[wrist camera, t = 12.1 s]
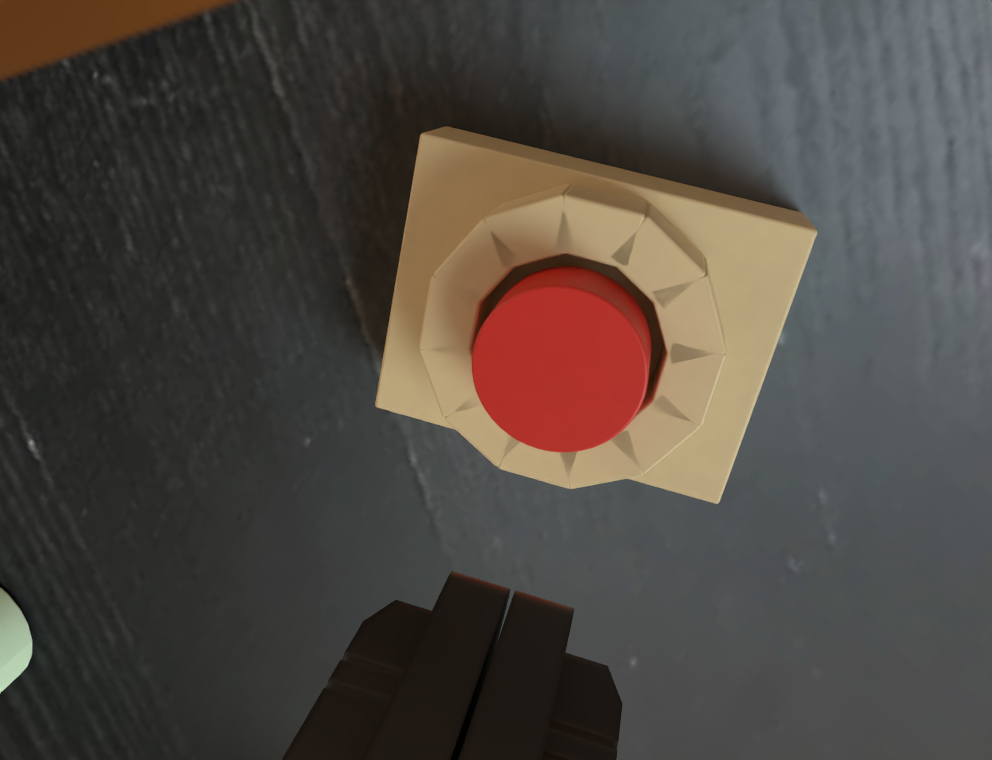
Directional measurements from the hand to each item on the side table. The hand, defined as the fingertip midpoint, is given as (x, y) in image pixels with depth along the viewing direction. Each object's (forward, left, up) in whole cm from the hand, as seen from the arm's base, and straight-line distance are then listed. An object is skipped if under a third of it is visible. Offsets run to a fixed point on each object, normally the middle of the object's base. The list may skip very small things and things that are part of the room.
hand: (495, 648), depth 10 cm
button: (0, -1, -9) cm, 10 cm away
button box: (0, -1, -13) cm, 13 cm away
